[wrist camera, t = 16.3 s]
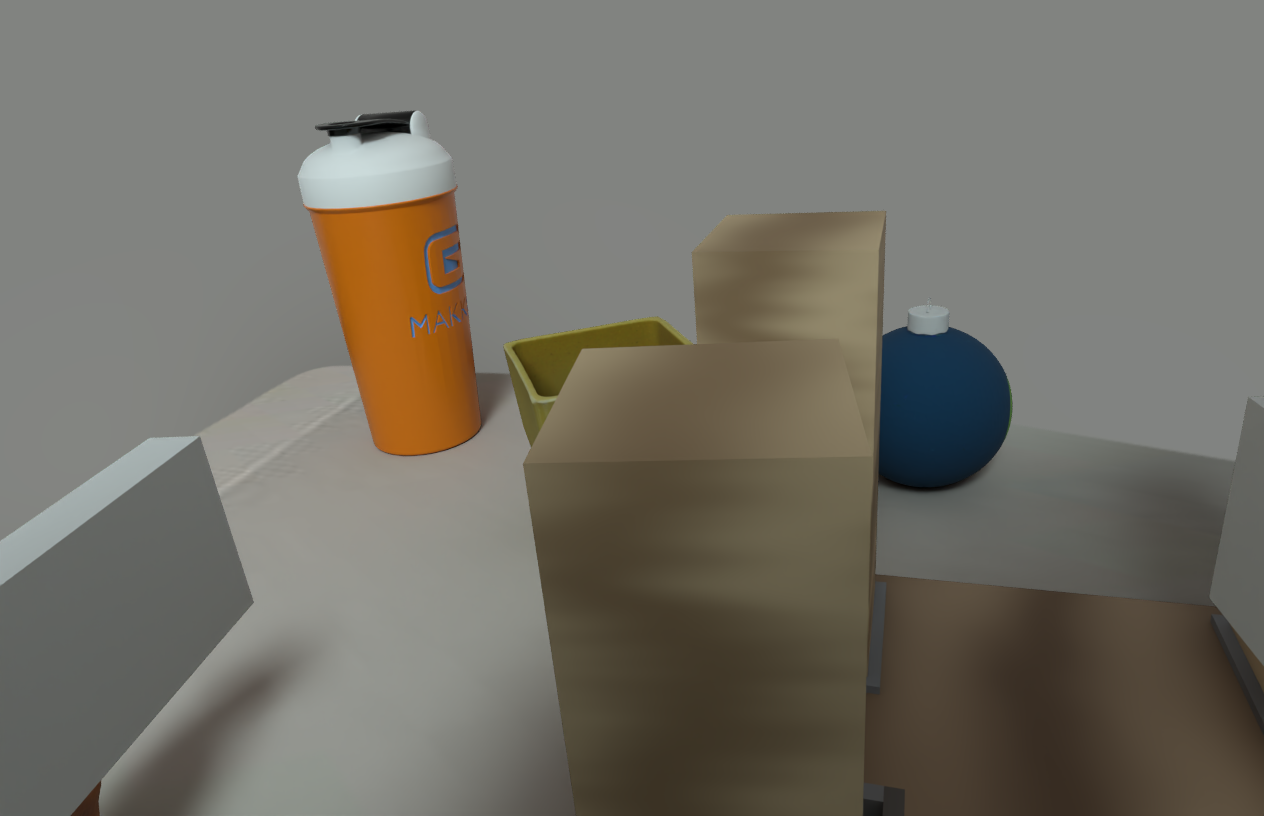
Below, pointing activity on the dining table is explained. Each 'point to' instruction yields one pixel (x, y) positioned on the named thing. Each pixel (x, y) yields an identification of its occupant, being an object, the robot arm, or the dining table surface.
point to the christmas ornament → (939, 402)
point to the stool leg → (707, 578)
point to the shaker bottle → (396, 277)
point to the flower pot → (571, 361)
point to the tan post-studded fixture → (995, 608)
